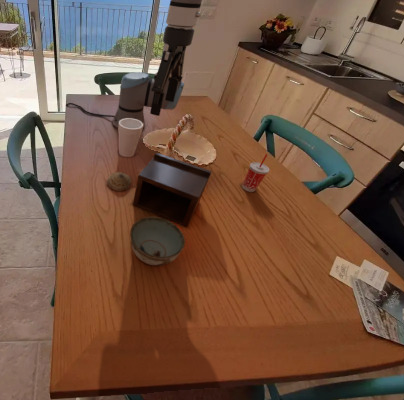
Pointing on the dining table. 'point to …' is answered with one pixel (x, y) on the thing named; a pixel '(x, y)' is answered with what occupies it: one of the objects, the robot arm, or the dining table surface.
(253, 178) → the beverage cup
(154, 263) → the bowl
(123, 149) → the foam cup
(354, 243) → the dining table surface
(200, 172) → the shelf
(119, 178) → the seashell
